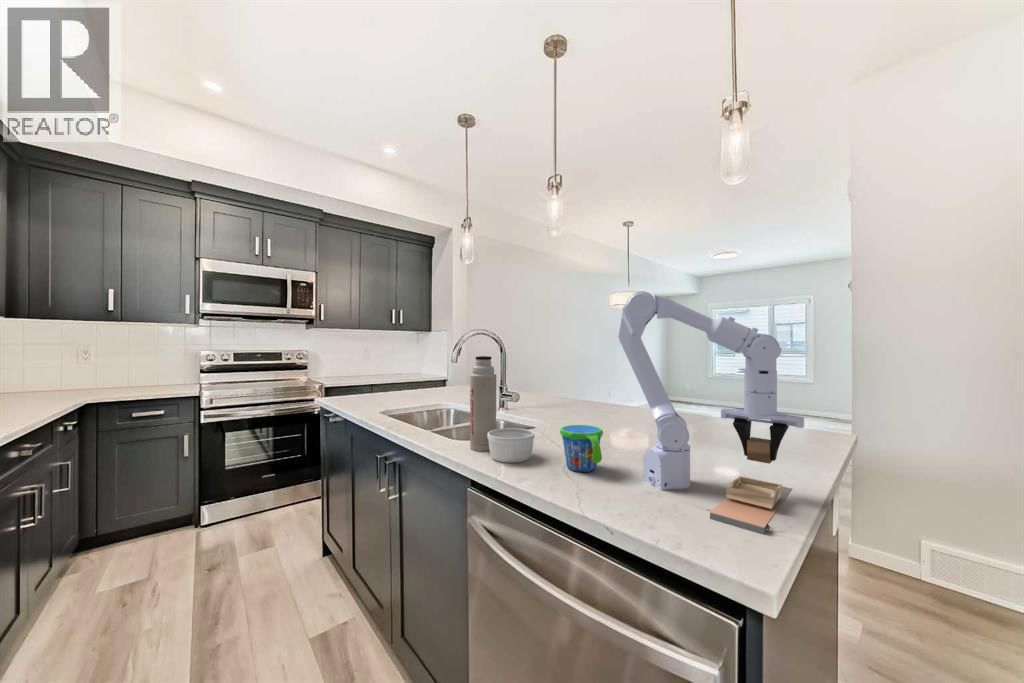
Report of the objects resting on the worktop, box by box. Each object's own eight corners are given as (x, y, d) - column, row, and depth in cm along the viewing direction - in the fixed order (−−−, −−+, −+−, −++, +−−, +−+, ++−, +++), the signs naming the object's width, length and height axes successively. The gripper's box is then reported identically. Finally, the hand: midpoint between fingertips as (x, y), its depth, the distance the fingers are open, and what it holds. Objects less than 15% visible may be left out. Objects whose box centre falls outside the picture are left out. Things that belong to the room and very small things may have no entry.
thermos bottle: (469, 451, 116) (469, 356, 116) (470, 444, 123) (470, 355, 124) (496, 450, 116) (496, 356, 116) (495, 444, 124) (495, 355, 124)
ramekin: (512, 448, 119) (512, 425, 119) (544, 457, 110) (544, 433, 110) (478, 457, 110) (478, 432, 110) (509, 468, 101) (509, 441, 101)
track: (763, 534, 66) (763, 528, 66) (709, 518, 72) (709, 512, 72) (792, 493, 83) (792, 488, 83) (747, 483, 89) (747, 478, 89)
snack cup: (552, 460, 107) (552, 423, 107) (588, 458, 109) (588, 421, 109) (573, 480, 91) (573, 436, 92) (614, 477, 94) (614, 434, 94)
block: (769, 463, 79) (769, 443, 79) (746, 459, 81) (747, 440, 81) (773, 459, 82) (773, 440, 82) (751, 455, 84) (751, 437, 84)
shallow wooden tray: (771, 511, 72) (771, 498, 72) (726, 499, 77) (726, 487, 77) (782, 497, 78) (782, 485, 78) (739, 487, 83) (739, 476, 83)
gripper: (806, 393, 79) (806, 460, 79) (727, 387, 89) (727, 446, 89) (801, 396, 74) (800, 468, 74) (717, 390, 84) (717, 453, 84)
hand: (760, 457), depth 81 cm, fingers closed on block, 4 cm apart
